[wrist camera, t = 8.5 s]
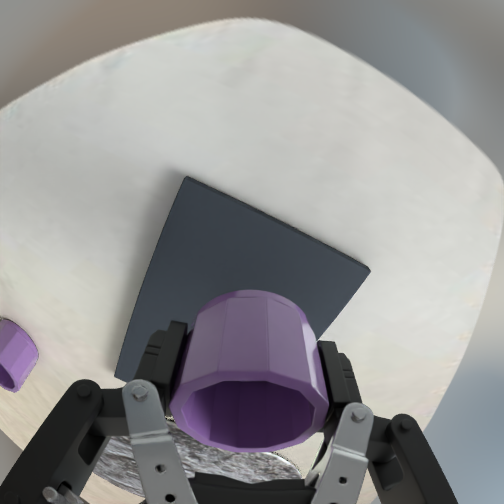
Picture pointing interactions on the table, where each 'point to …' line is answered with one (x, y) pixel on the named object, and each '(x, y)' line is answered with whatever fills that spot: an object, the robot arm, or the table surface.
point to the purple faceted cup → (15, 355)
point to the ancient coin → (193, 462)
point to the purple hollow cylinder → (250, 375)
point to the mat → (232, 267)
